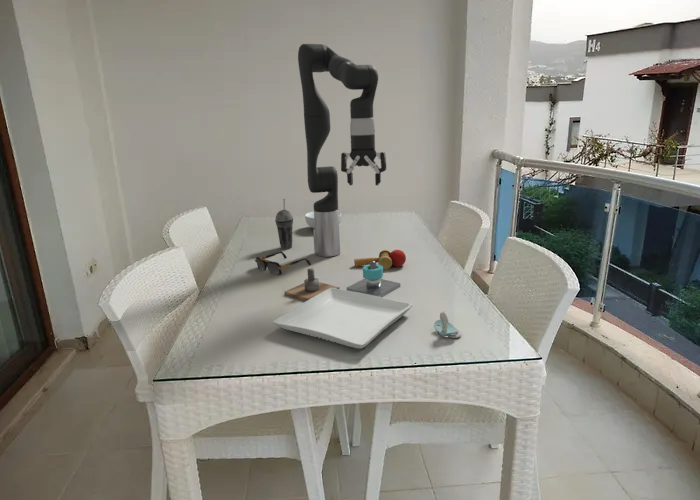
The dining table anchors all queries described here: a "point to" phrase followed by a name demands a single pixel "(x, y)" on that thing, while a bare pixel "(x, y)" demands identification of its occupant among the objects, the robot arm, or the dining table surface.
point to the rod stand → (309, 288)
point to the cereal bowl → (310, 219)
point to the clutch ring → (372, 272)
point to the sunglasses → (274, 263)
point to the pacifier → (446, 327)
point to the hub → (374, 285)
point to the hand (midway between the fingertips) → (364, 185)
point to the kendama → (384, 259)
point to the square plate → (344, 317)
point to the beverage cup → (284, 228)
